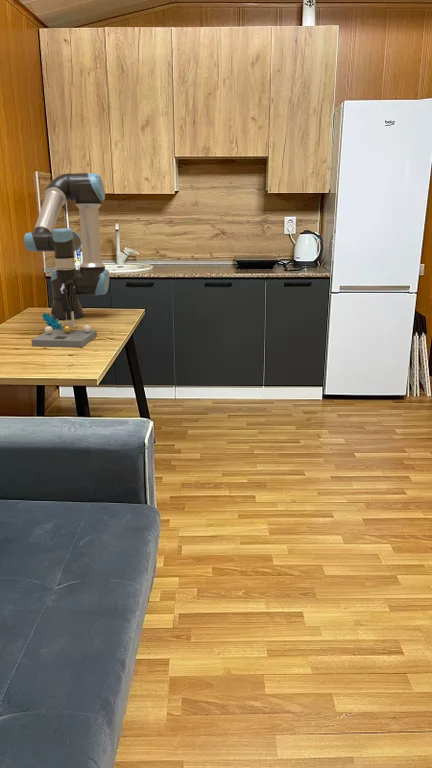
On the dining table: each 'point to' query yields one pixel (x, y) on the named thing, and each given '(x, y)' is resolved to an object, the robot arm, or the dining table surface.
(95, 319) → the dining table surface
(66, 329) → the ball
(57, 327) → the gear
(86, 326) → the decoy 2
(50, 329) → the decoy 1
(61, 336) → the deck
